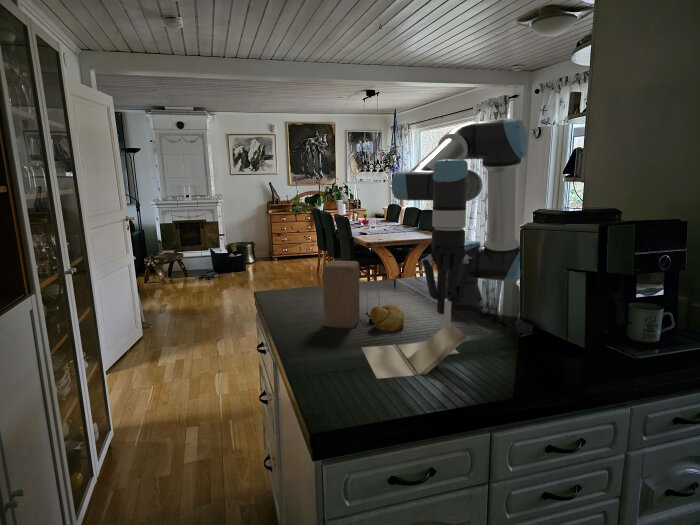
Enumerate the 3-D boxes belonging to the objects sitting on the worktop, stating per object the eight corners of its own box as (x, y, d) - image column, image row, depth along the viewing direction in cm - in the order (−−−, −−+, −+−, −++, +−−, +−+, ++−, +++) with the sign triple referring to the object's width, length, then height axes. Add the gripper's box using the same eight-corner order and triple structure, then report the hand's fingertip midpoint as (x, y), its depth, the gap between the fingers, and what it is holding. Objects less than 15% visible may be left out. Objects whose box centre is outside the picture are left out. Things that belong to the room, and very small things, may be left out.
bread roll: (381, 320, 143) (381, 297, 142) (410, 323, 139) (410, 299, 138) (368, 332, 131) (368, 307, 130) (398, 337, 128) (399, 311, 126)
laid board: (395, 349, 118) (395, 344, 118) (417, 379, 100) (417, 374, 100) (361, 351, 117) (361, 346, 117) (377, 383, 98) (377, 377, 98)
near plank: (451, 325, 109) (449, 322, 109) (467, 337, 100) (464, 334, 100) (410, 362, 109) (407, 359, 109) (422, 377, 100) (418, 374, 100)
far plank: (445, 344, 120) (445, 340, 120) (459, 357, 112) (459, 352, 111) (397, 349, 118) (397, 345, 118) (406, 362, 110) (406, 358, 109)
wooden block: (354, 329, 134) (353, 266, 131) (323, 327, 136) (321, 265, 133) (360, 319, 144) (359, 260, 140) (330, 318, 146) (329, 259, 142)
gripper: (468, 226, 104) (464, 320, 108) (416, 227, 102) (414, 323, 106) (482, 229, 97) (477, 329, 101) (427, 230, 95) (424, 333, 99)
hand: (445, 326), depth 104 cm, fingers closed
